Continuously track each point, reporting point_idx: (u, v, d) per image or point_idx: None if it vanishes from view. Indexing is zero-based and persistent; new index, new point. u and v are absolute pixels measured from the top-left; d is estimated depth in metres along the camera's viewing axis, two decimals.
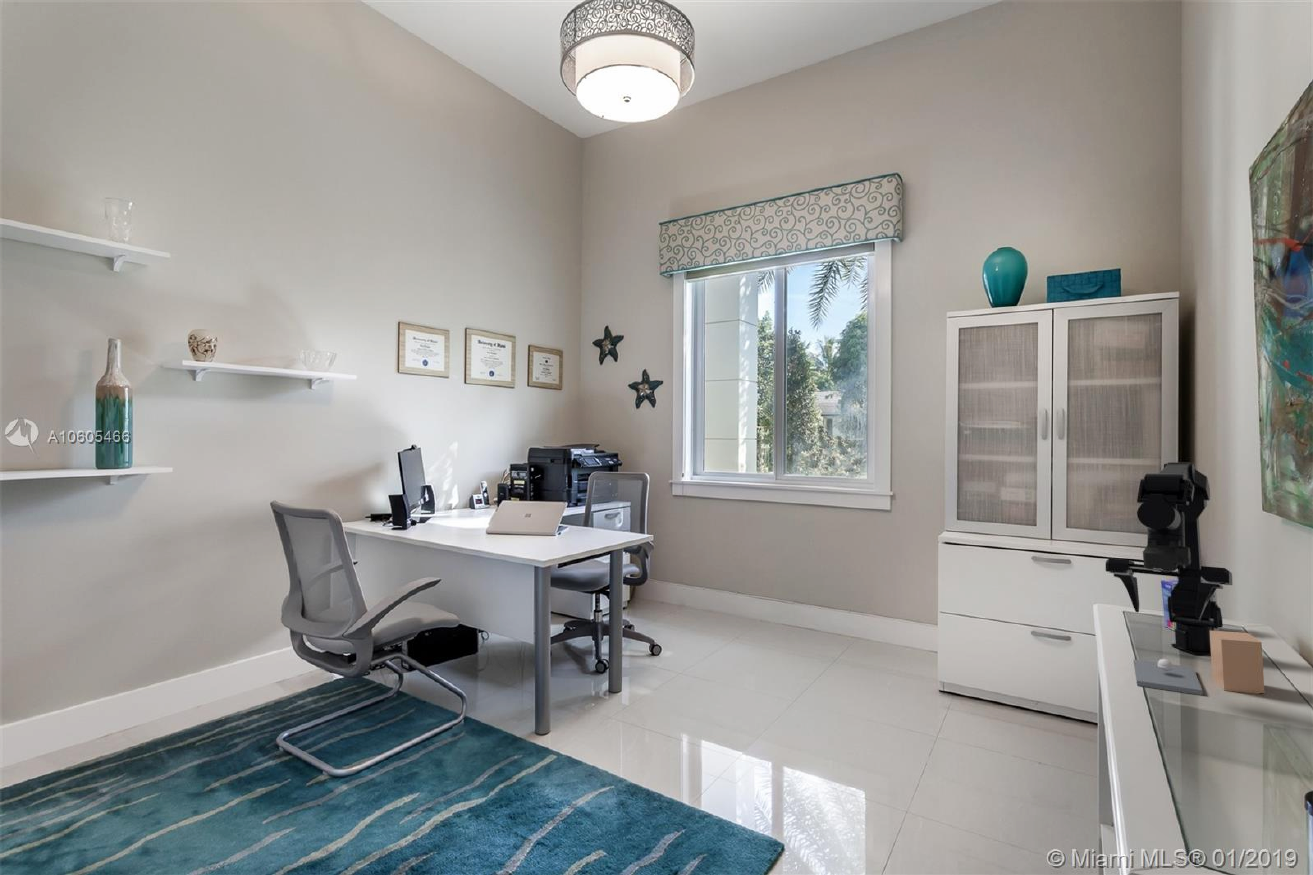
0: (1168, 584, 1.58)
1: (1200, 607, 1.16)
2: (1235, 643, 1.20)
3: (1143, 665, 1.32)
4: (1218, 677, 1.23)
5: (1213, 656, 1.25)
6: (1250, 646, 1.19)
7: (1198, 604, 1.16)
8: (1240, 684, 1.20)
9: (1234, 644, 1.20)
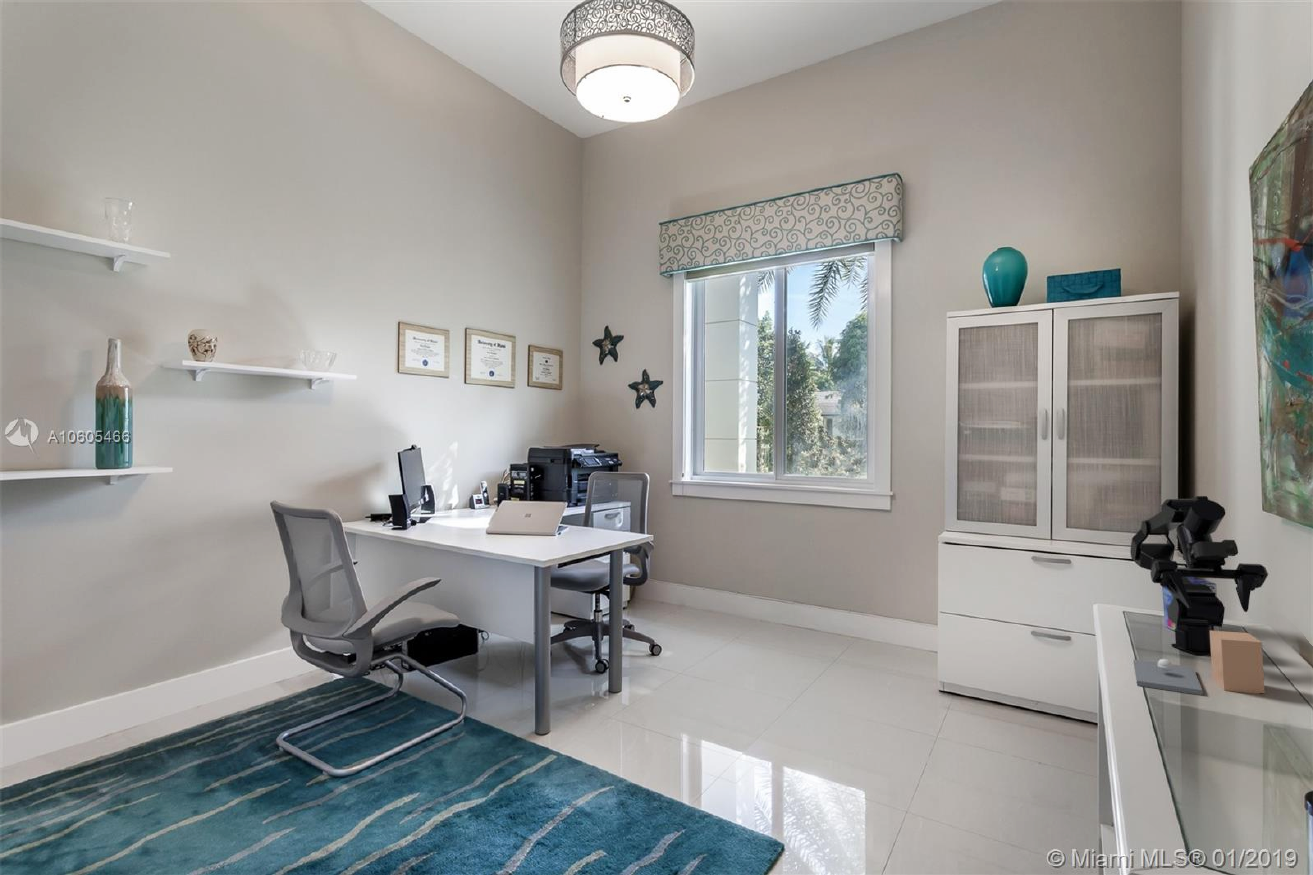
0: None
1: (1247, 598, 1.28)
2: (1235, 643, 1.20)
3: (1143, 665, 1.32)
4: (1218, 677, 1.23)
5: (1213, 656, 1.25)
6: (1250, 646, 1.19)
7: (1243, 595, 1.29)
8: (1240, 684, 1.20)
9: (1234, 644, 1.20)
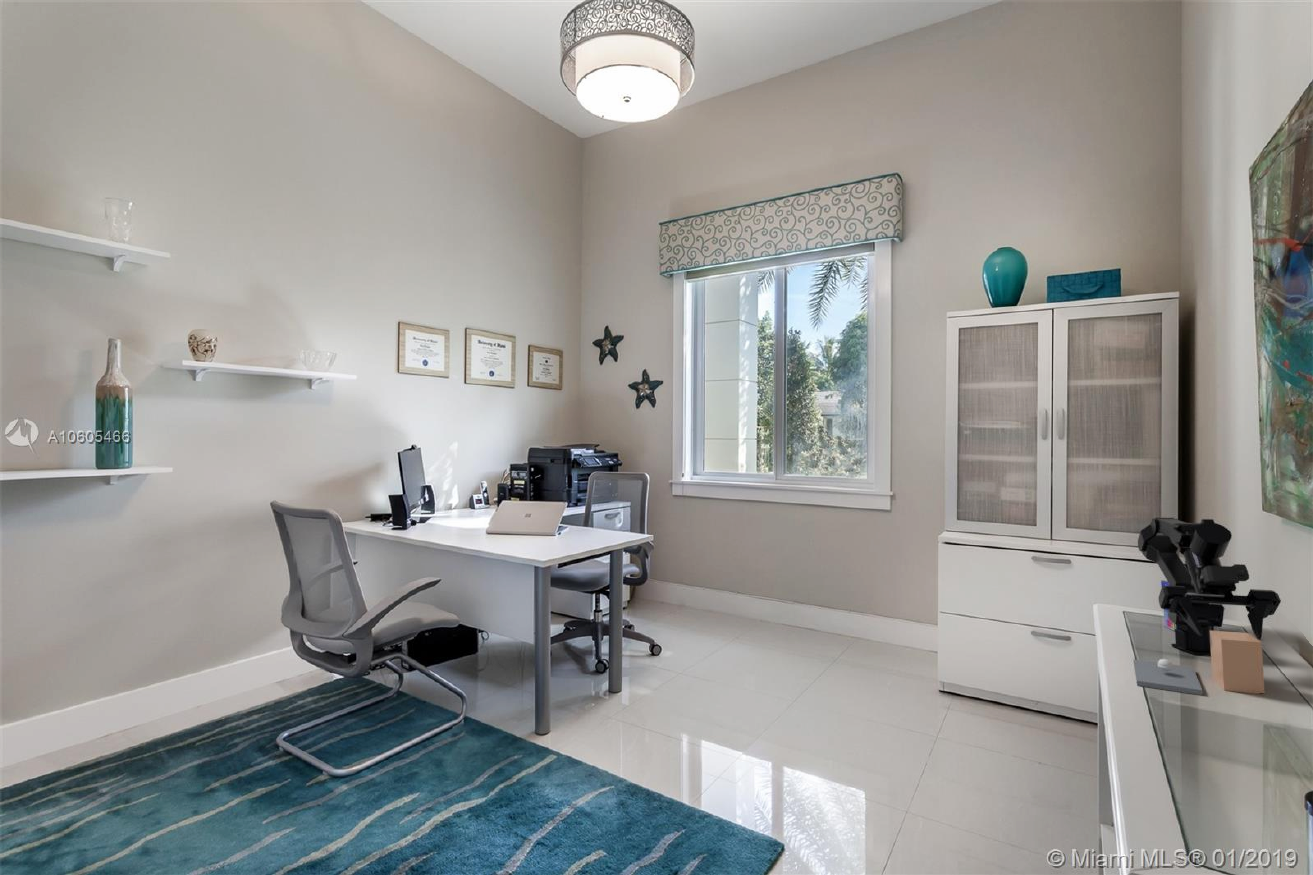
0: (1168, 584, 1.58)
1: (1259, 625, 1.24)
2: (1235, 643, 1.20)
3: (1143, 665, 1.32)
4: (1218, 677, 1.23)
5: (1213, 656, 1.25)
6: (1250, 646, 1.19)
7: (1256, 622, 1.24)
8: (1240, 684, 1.20)
9: (1235, 644, 1.20)
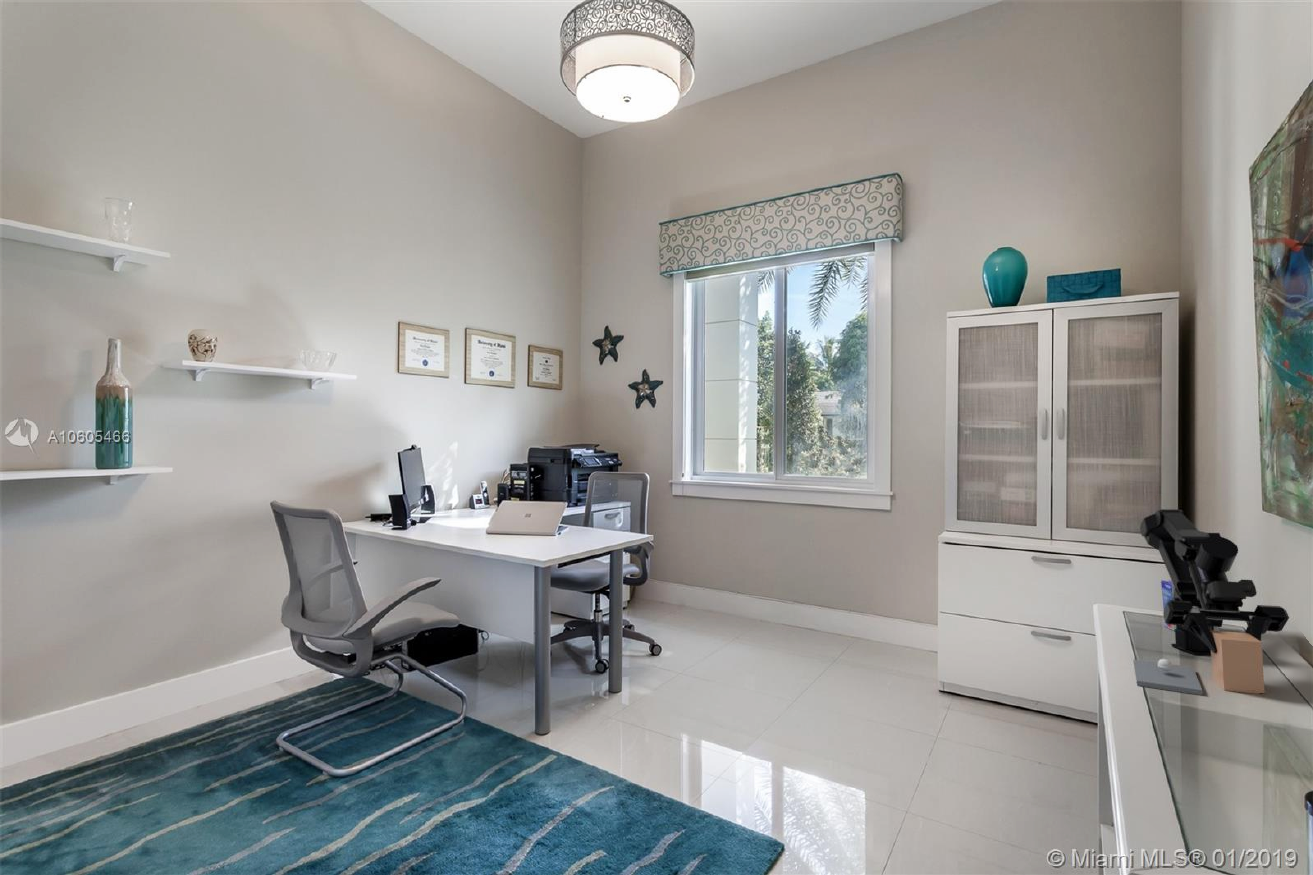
0: (1168, 584, 1.58)
1: None
2: (1235, 643, 1.20)
3: (1143, 665, 1.32)
4: (1218, 677, 1.23)
5: (1213, 656, 1.25)
6: (1250, 646, 1.19)
7: None
8: (1240, 684, 1.20)
9: (1235, 644, 1.20)
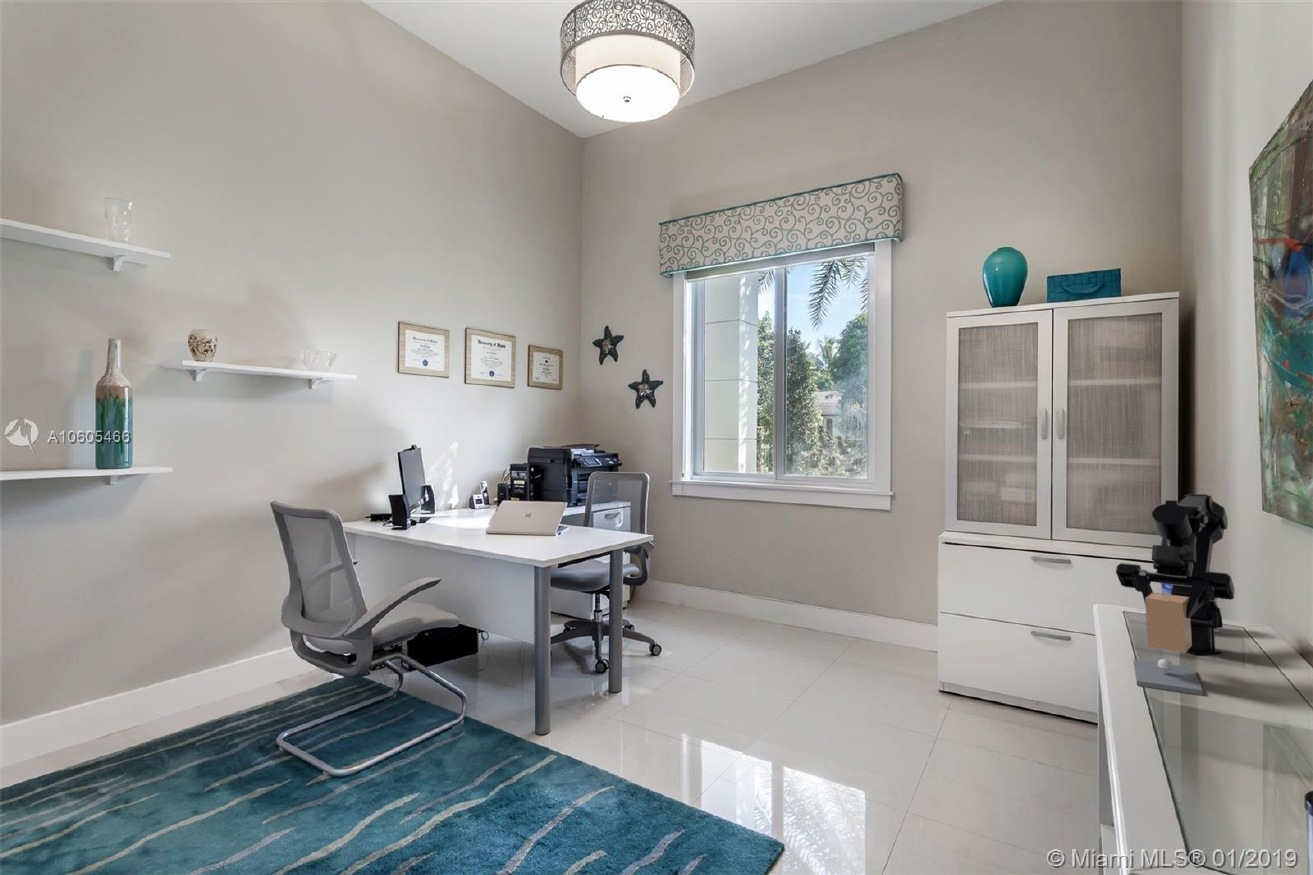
0: (1168, 584, 1.58)
1: (1191, 604, 1.25)
2: (1157, 602, 1.26)
3: (1143, 665, 1.32)
4: None
5: None
6: (1172, 606, 1.24)
7: (1189, 602, 1.25)
8: (1162, 641, 1.26)
9: (1157, 603, 1.26)
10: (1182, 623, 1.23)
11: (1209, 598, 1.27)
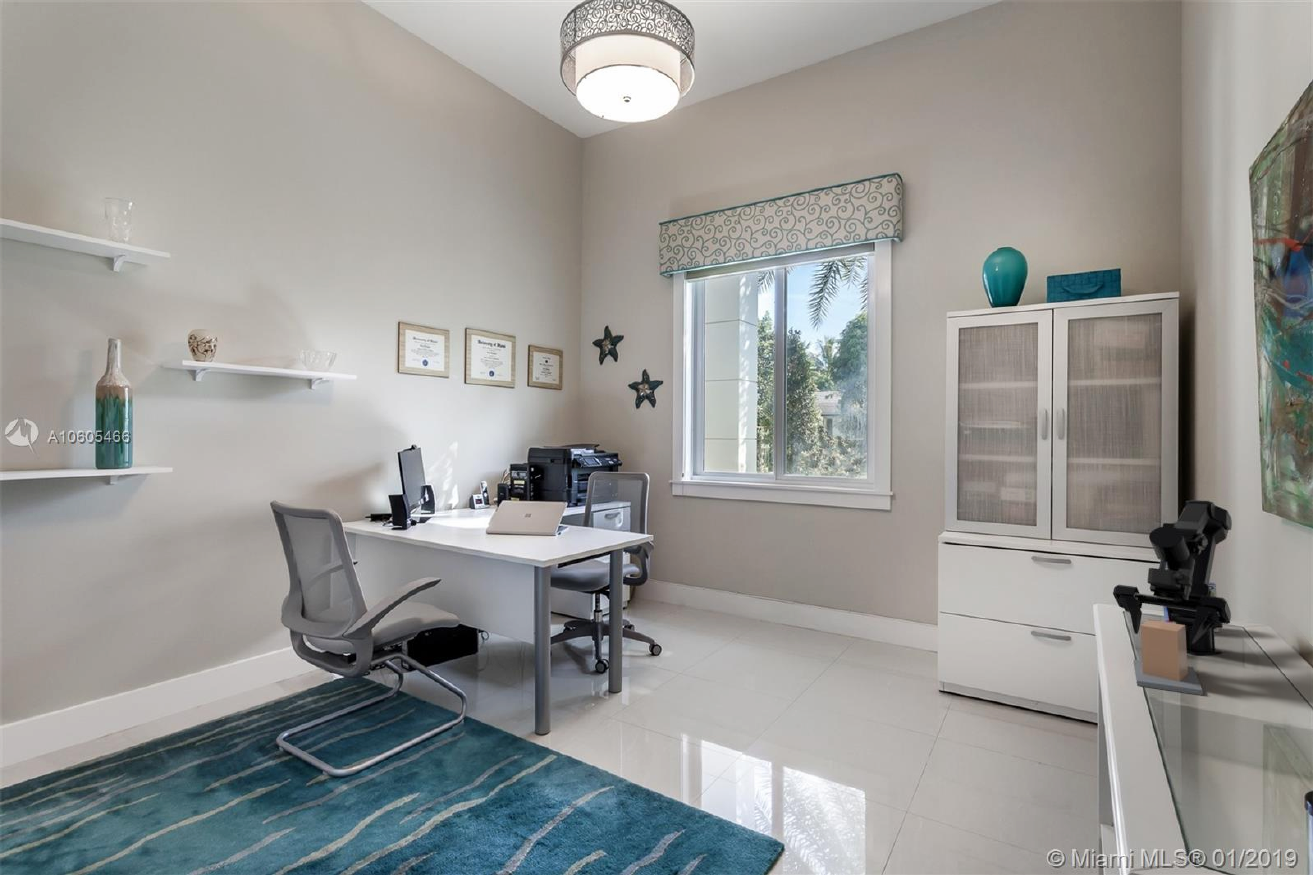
0: None
1: (1195, 630, 1.24)
2: (1152, 630, 1.27)
3: None
4: None
5: None
6: (1167, 634, 1.25)
7: (1193, 627, 1.25)
8: (1157, 669, 1.26)
9: (1152, 631, 1.27)
10: (1176, 651, 1.24)
11: (1214, 623, 1.26)
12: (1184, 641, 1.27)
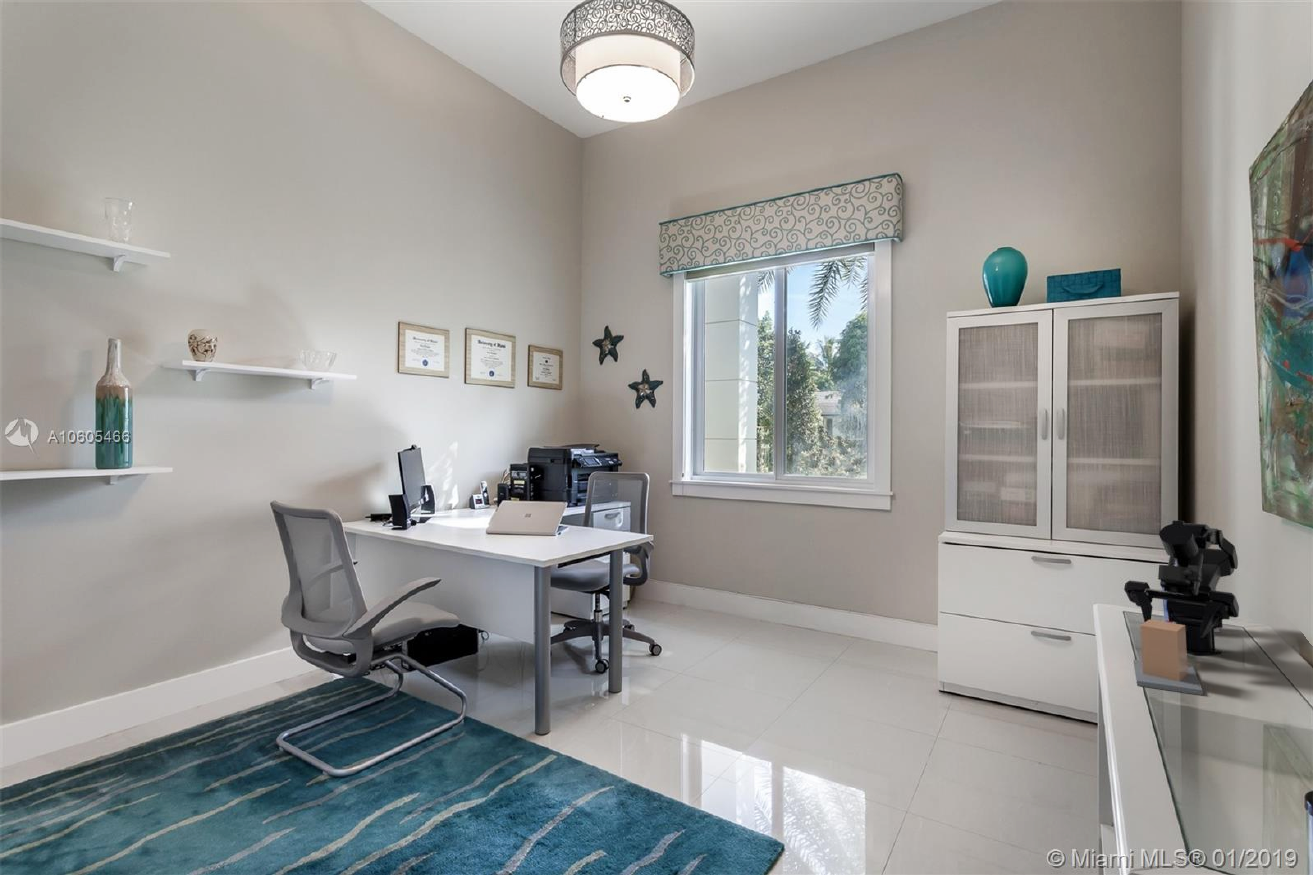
0: None
1: (1205, 624, 1.29)
2: (1152, 630, 1.27)
3: None
4: None
5: None
6: (1167, 634, 1.25)
7: (1203, 621, 1.29)
8: (1157, 669, 1.26)
9: (1152, 631, 1.27)
10: (1176, 651, 1.24)
11: (1223, 617, 1.30)
12: (1184, 641, 1.27)
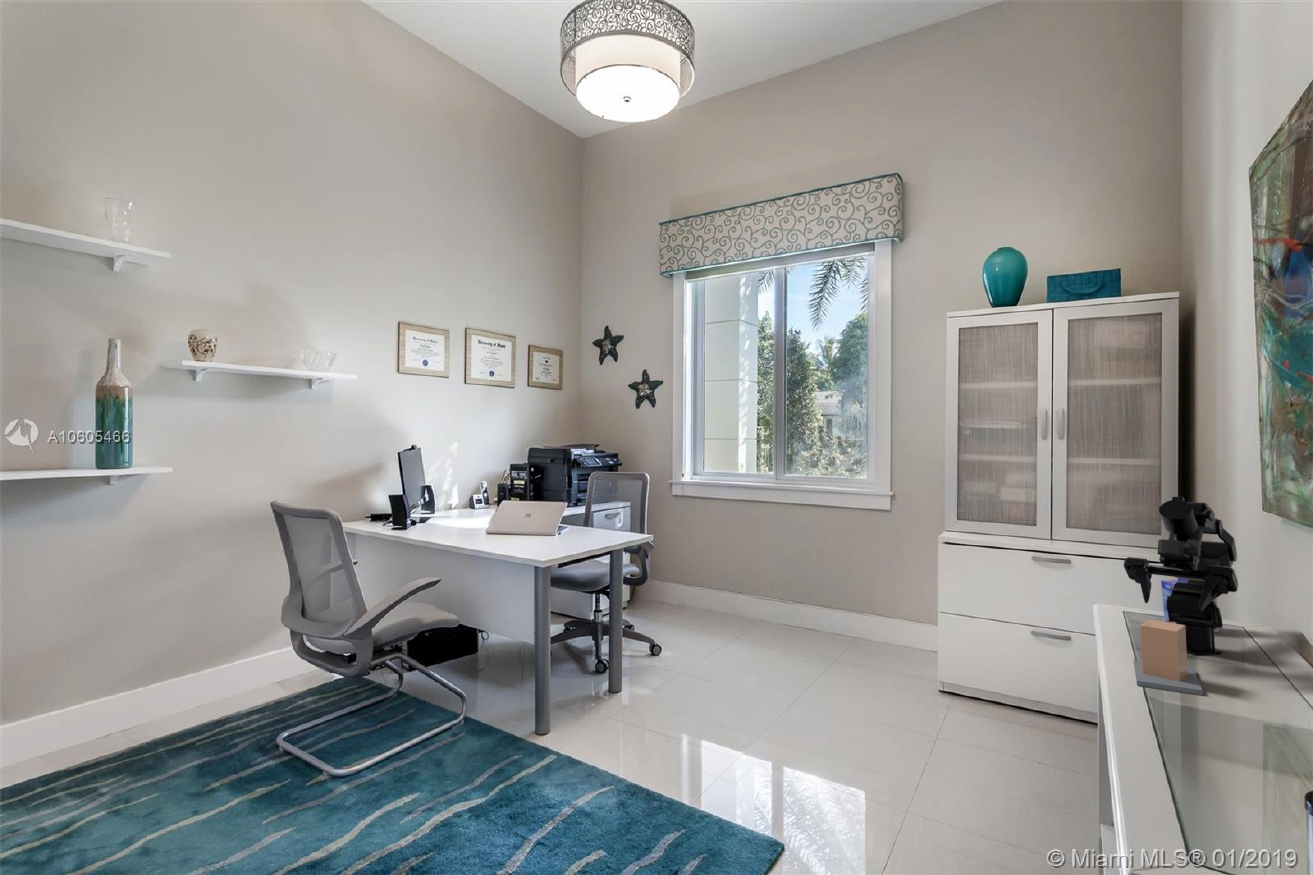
0: (1168, 584, 1.58)
1: (1203, 597, 1.29)
2: (1152, 630, 1.27)
3: None
4: None
5: None
6: (1167, 634, 1.25)
7: (1202, 595, 1.30)
8: (1157, 669, 1.26)
9: (1152, 631, 1.27)
10: (1176, 651, 1.24)
11: (1222, 592, 1.31)
12: (1184, 641, 1.27)
